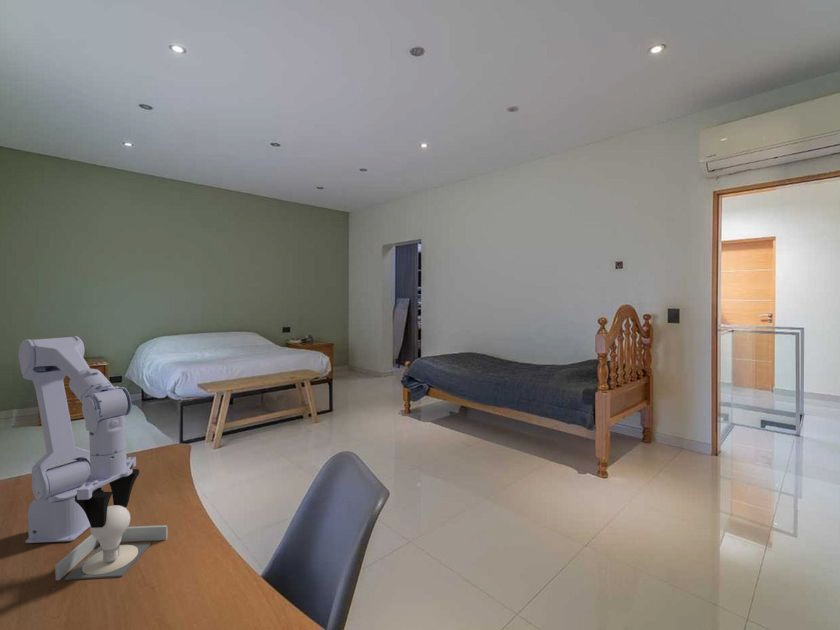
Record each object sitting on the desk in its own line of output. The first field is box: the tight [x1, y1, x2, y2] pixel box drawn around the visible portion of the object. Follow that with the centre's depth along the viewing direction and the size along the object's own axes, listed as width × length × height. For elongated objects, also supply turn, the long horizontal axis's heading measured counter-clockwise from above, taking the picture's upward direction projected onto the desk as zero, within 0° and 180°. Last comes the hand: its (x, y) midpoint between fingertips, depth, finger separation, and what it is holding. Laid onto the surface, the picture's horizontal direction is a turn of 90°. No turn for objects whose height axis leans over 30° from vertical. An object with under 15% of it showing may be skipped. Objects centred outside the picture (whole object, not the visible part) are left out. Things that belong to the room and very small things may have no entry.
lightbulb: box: [89, 504, 131, 562], centre depth 80 cm, size 6×6×11 cm
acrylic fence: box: [54, 524, 169, 581], centre depth 81 cm, size 15×12×3 cm
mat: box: [64, 542, 152, 581], centre depth 80 cm, size 10×10×1 cm
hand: (110, 516), depth 80 cm, fingers open, 6 cm apart
